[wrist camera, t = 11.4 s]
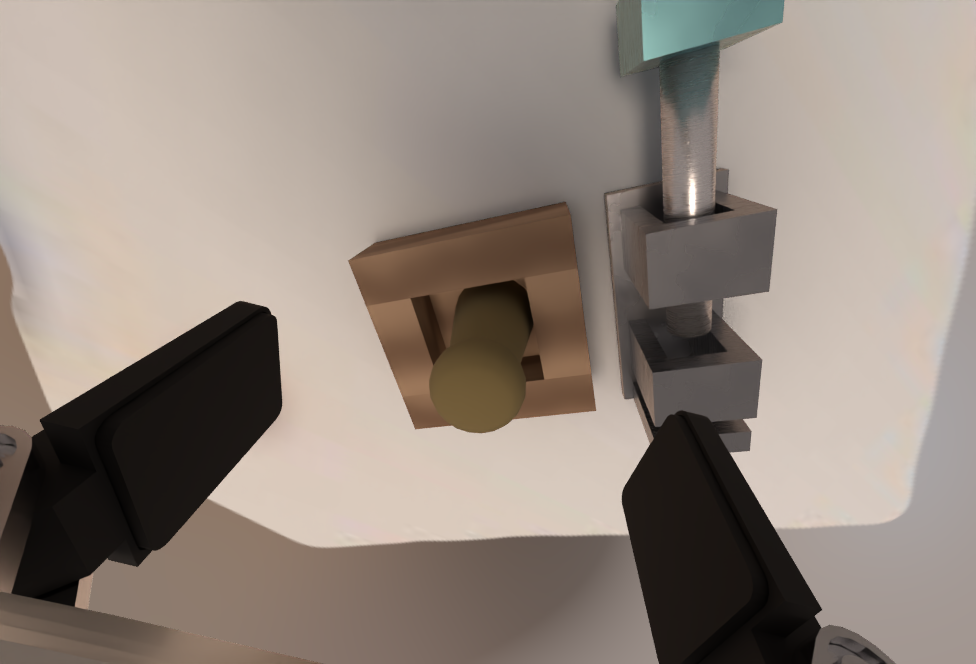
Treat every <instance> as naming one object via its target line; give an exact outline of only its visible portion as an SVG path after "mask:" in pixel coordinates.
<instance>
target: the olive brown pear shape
mask: <svg viewBox="0 0 976 664" xmlns="http://www.w3.org/2000/svg"><path fill="white" fill-rule="evenodd" d="M533 325H534V323H533V318H532V313H531V308H530V303H529V297H528V292H527V291H526V289H525V288H524V287H523V286H521V285H520V284H518V283H517V282H516V281H514V280H510V281H504V282H499V283H493V284H487V285H482V286H476V287H471V288H465V289H464V290H463V291H462V292H461V294H460V295H459V297H458V301H457V304H456V308H455V315H454V321H453V328H452V334H451V340H450V347H448V348H447V349H446V350H444V351H443V353H442V354H441V355H440V356H439V358H438V359H437V360H436V362H435V364H434V366H433V368H432V372H431V375H430V379H429V390H430V398H431V400H432V402H433V404H434V406H435V408H436V410H437V412H438V414H439V415H440V416H441V417H442V418H443V419H444V420H445V421H446V422H447V423H449V424H451V425H452V426H454V427H455V428H457V429H460V430H464V431H467V432H472V433H486V432H491V431H495V430H497V429H499V428H501V427H503V426H505V425H507V424H508V423H509V422H510V421H511V420H512V419H513V418H514V417H515V416H516V415H517V414H518V412H519V410H520V408H521V406H522V404H523V402H524V399H525V393H526V377H525V374H524V371H523V368H522V366H521V361H522V358H523V355H524V352H525V349H526V346H527V343H528V340H529V337H530V334H531V331H532V328H533Z"/></svg>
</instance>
